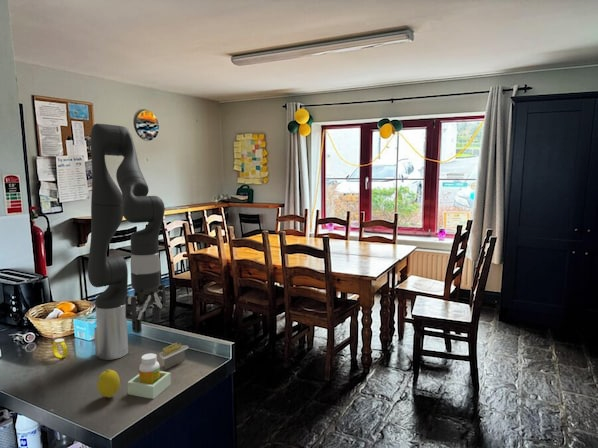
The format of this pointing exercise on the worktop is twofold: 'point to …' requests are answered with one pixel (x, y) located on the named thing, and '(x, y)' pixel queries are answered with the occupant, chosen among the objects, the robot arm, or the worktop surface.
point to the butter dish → (173, 354)
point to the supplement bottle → (149, 369)
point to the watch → (65, 351)
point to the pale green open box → (149, 386)
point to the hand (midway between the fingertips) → (147, 326)
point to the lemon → (108, 383)
